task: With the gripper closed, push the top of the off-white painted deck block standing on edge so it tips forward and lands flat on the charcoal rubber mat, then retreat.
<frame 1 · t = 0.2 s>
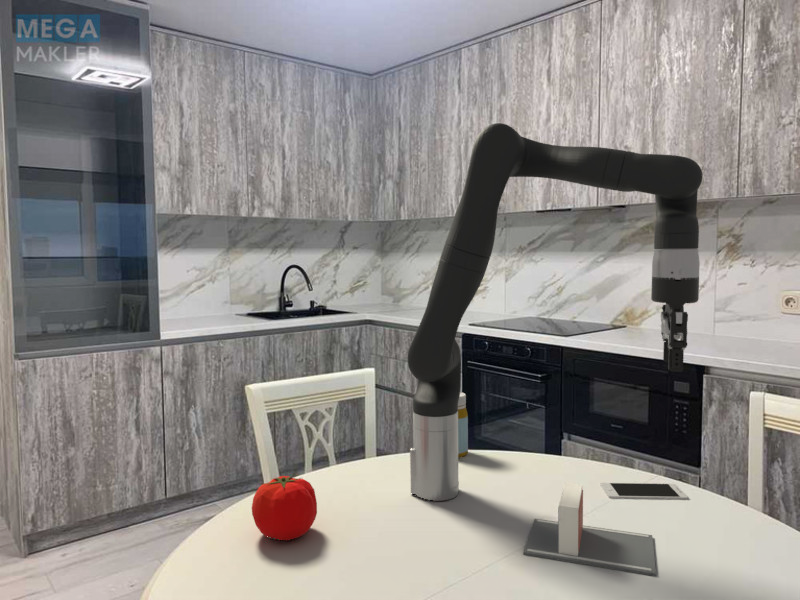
hand: (672, 366, 105), 29 cm above the table, fingers open, 8 cm apart
bottle: (453, 454, 146), on the table
smartphone: (642, 494, 122), on the table
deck: (571, 517, 100), point 4 cm above the table, touching mat
tomato: (285, 535, 106), on the table
mat: (589, 545, 100), on the table
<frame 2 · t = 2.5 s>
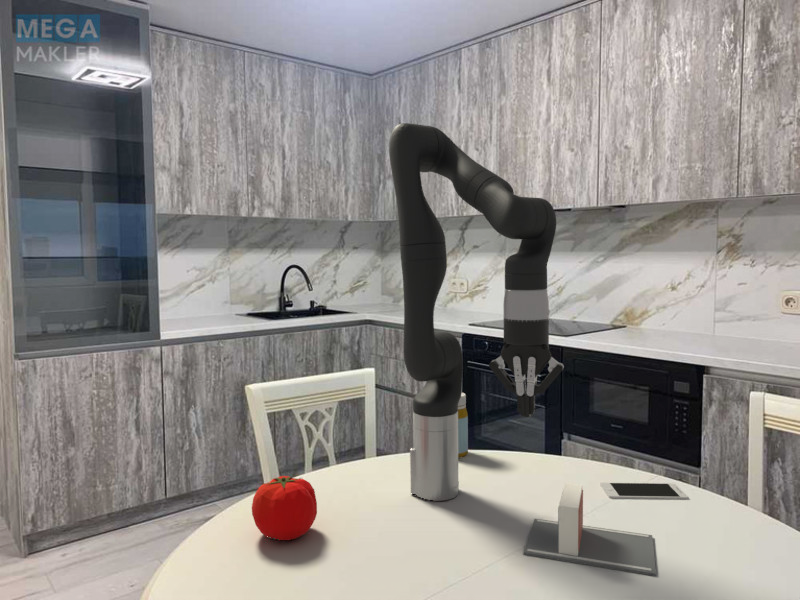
hand: (526, 416, 102), 21 cm above the table, fingers closed
nothing on the table moved.
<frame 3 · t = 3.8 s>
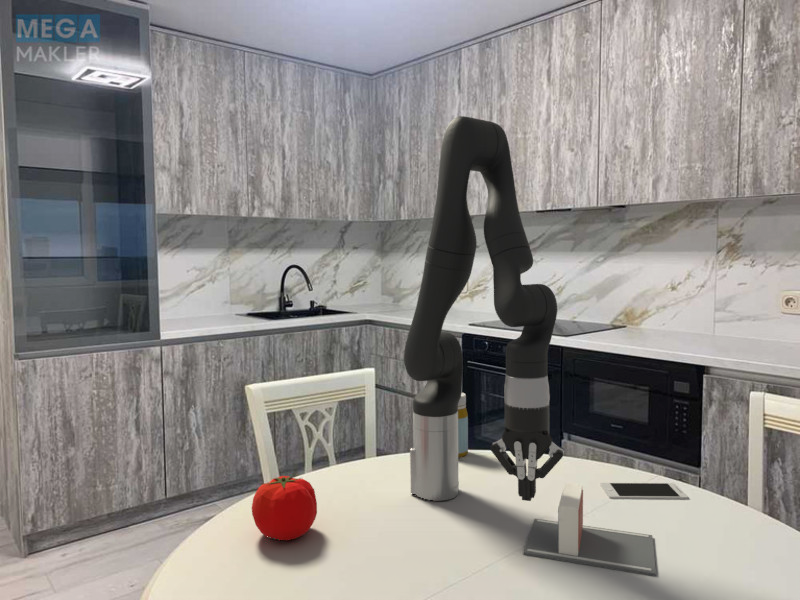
hand: (527, 498, 103), 7 cm above the table, fingers closed
nothing on the table moved.
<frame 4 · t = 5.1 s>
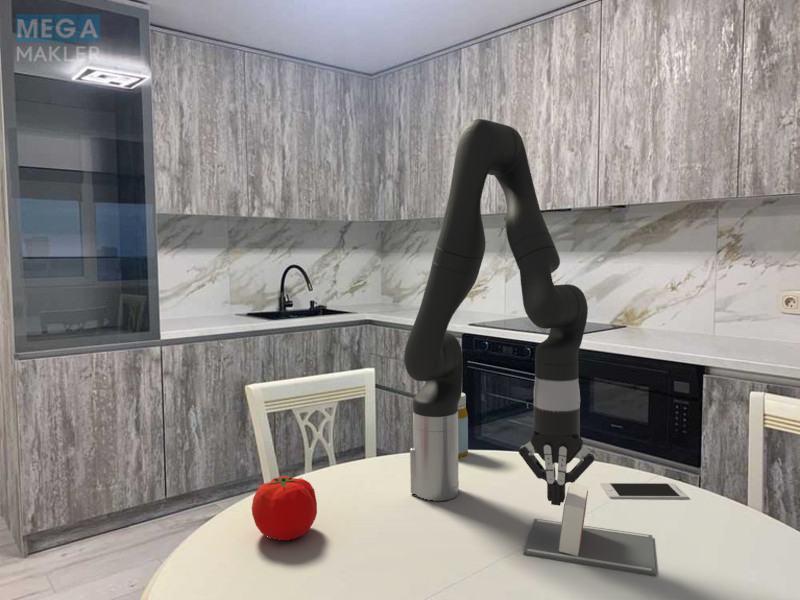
hand: (556, 503, 101), 7 cm above the table, fingers closed
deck: (573, 517, 100), point 5 cm above the table, tilted 7°, touching mat
everything else where it was.
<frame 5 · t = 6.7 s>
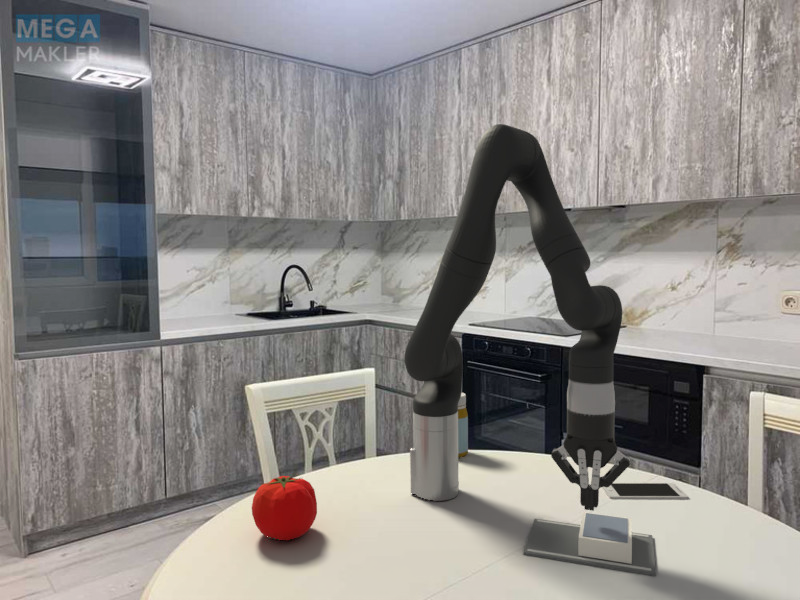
hand: (589, 508, 99), 7 cm above the table, fingers closed
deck: (605, 536, 99), point 2 cm above the table, tilted 90°, touching mat
everything else where it was.
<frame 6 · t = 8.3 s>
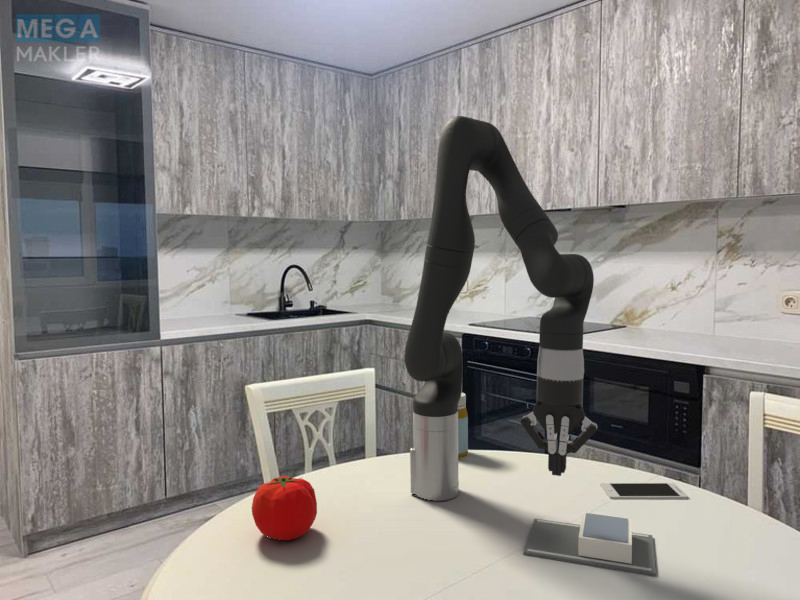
hand: (557, 473, 101), 12 cm above the table, fingers closed
nothing on the table moved.
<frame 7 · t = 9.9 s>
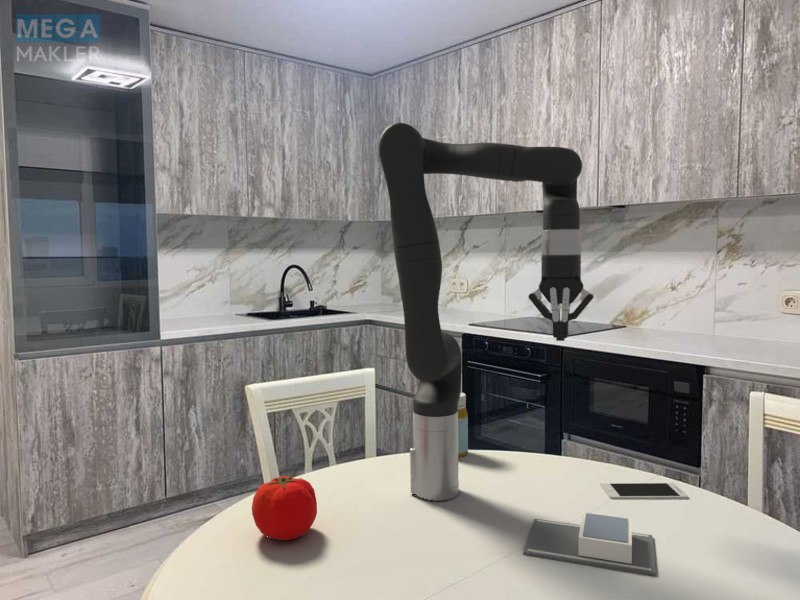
hand: (560, 340, 118), 32 cm above the table, fingers closed
nothing on the table moved.
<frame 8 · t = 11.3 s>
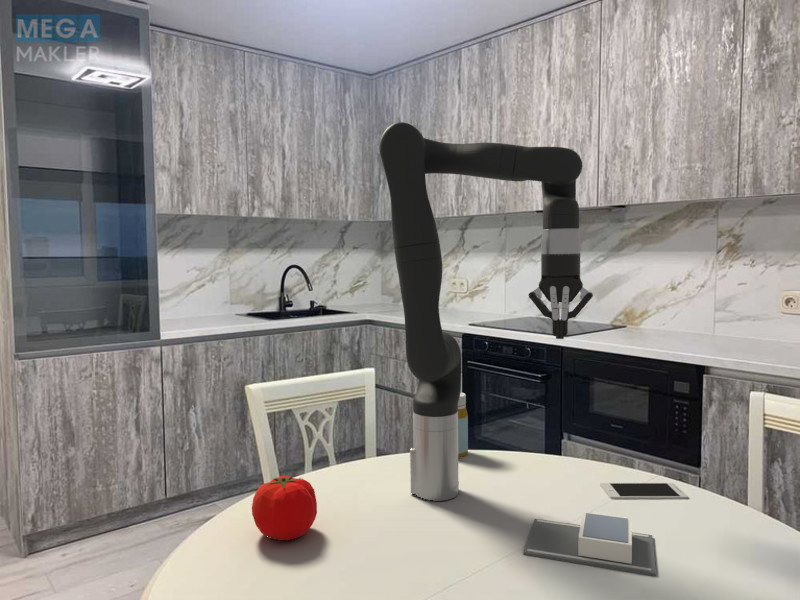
hand: (560, 338, 119), 32 cm above the table, fingers closed
nothing on the table moved.
at the end: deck tilted 90°; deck inside the target area (2.6 cm from its centre), point 2.0 cm above the table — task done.
